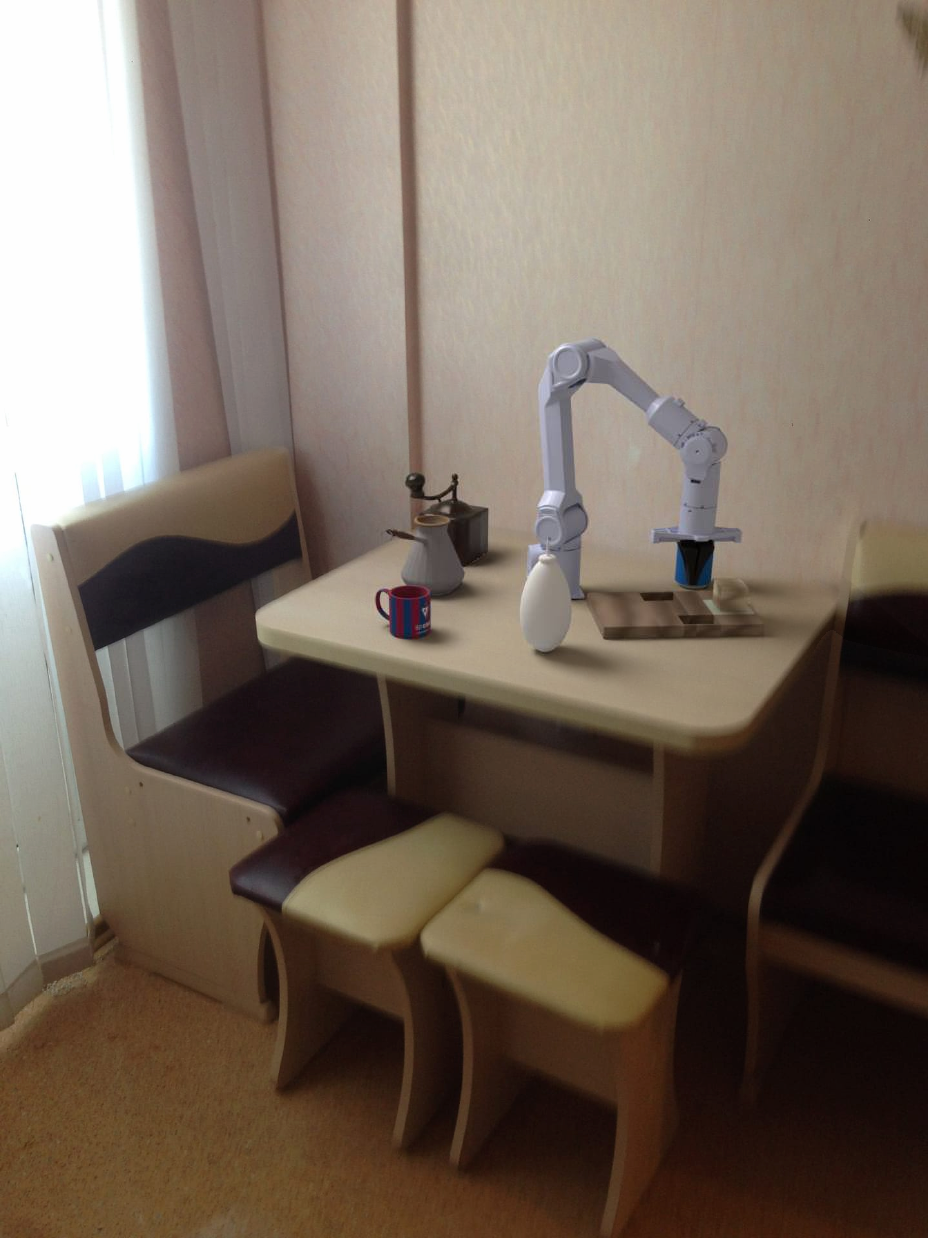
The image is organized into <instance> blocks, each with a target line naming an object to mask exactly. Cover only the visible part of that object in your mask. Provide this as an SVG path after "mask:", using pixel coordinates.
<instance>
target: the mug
mask: <svg viewBox="0 0 928 1238" xmlns="http://www.w3.org/2000/svg"><path fill="white" fill-rule="evenodd" d="M382 593H385V594H387V595H388V613H389V614H388V613H387V612H386V611H384V609H383V607H382V605H381V594H382ZM431 597H432V596H431V592H430V590H429V589H428V588H426V587H423V586H417V585H406V584H405V585H398V586H396V587H395V586H394V587H393V588H391V589H388V588H380V589H379V590H377V592H376V593H375V598H374V599H375V601H374V602H375V606H376V610H377V612H378V613H379V614H380V616H381V617H383V618H384V619H385V620H386V621H389V624H388V625H389V634H391V635H392V636H394V637H395V638H398V639H406V640H407V639H409V640H410V639H411V640H413V639H421V638H423V637H426V636H428V635H429V634H430V633H431V632H432V622H431V621H432V620H431V617H432V616H431V615H432V614H431V613H432V612H431V611H432V610H431V609H432V608H431V607H432V605H431V604H432V603H431Z"/></svg>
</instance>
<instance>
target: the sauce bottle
mask: <svg viewBox="0 0 928 1238" xmlns="http://www.w3.org/2000/svg"><path fill="white" fill-rule="evenodd" d="M519 605H520V606H519V619H520V620H519V621H520V627H521V631H522V634H523V636H524V638H525V640H526V641H527V643H528V644H529V645H531V646H532V647H533V649H535V650H538V651H539V652H542V653H547V652H548V653H549V652H551V651H553V650H555V649H556V648H557V647H559V646H560V645H561V644H562V643H563V642H564V639H565V638H566V636H567V634H568V631H569V629H570V625H571V622H572V614H573V612H572V610H573V609H572V599H571V595H570V590H569V586H568V583H567V580H566V577H565V575H564V573H563V571H562V569H561V567H560V566H559V565H558V563H557V562H556V557H555V556H554V555H551V554H549V539H548V540H547V547H546V554H543V555H541V556H540V557H539V562H538V563H537V564H536V565H535V566H534V568H533V569H532V571H531V573H530V575H529V577H528V579H527V581H526V580H525V584H524V586H523V591H522V594H521V598H520V603H519Z"/></svg>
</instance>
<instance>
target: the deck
mask: <svg viewBox="0 0 928 1238" xmlns="http://www.w3.org/2000/svg"><path fill="white" fill-rule="evenodd" d="M712 599H713V590H683V591H682V590H677V591H671V590H670V591H669V590H668V591H620V592H619V591H616V592H608V591H607V592H587V593H586V606H587V607H588V609H589V612H590V614H591V616H592V618H593V620H594V622H595V624H596V626H597V628H598V630H599V632H600V635H601V637H602V639H603V640H604V639H605V640H607V639H656V638H657V639H658V638H700V637H701V638H704V637H706V638H707V637H745V636H746V637H749V636H750V637H752V636H753V637H754V636H756V637H757V636H764V630H765V623H764V622H763V620H761V618H759V616H758V615H757V614H756V613H755V612H754V610H753V609H752V608H751V607H750V606H749V605H748V604H747V611H725V612H720V611H719V610H718V609H717V608H716V606H715V605H714V604H713V602H712Z"/></svg>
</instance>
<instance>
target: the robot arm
mask: <svg viewBox="0 0 928 1238" xmlns="http://www.w3.org/2000/svg"><path fill="white" fill-rule="evenodd" d="M546 359H547V361H546V362H547V366H546V368H545V370H544V373H543V374H542V377H541V380H540V383H539V385H538V388H537V389H538V390H537V394H538V395H537V396H538V410H539V426H540V427H539V428H540V438H541V439H540V443H541V456H542V457H541V458H542V472H543V473H542V474H543V488H544V490H543V491H544V492H543V495H542V496H541V498H540V501H539V502H538V504H537V517H536V520H535V521H534V525H533V533H534V536H535V538H536V541H537V542H538V543H535V544H529V545H528V546H527V551H526V552H527V555H526V556H527V557H526V576H525V582H526V581H527V579H528V577H529V575H530V573H531V571H532V569H533V568H534V566H535V565H536V564H537V563H538V562H539V557H540V556H541V555H543V554H546V547H547V540H548V539H549V554H551V555H554V556H555V557H556V562H557V563H558V565H559V566H560V567H561V569H562V571H563V573H564V575H565V577H566V580H567V583H568V586H569V590H570V595H571V600H572V599H573V600H575V599H580V600H581V599H585V594H584V592H583V590H582V588H581V586H580V583H581V579H580V578H581V558H582V535H583V534H585V532H586V531H587V529H588V527H589V515H588V513H587V511H586V509H585V507H584V502H583V500H584V499H583V496H582V494H581V493H580V492H579V491H578V489H577V488H576V485H577V484H576V470H575V452H574V435H573V434H574V433H573V432H574V431H573V416H572V397H573V395H575V393H577V392H578V390H579V389H580V388H581V387H582V386H583V385H584V384H585V383H589V384H602V385H605V384H606V385H609V386H611V388H613V389H615V390H616V391H617V392H618V393H620V394H621V395H622V396H623V397H625V398H626V399H628V400H629V401H630V402H631V403H632V404H634V405H635V406H637V407H638V408H639V409H641V410H642V411H643V412H644V413H645V414H646V418H647V419H646V420H647V424H648V425H647V426H650V427H651V429H653V430H654V431H655V432H656V433H657V434H659V435H660V436H661V437H662V438H664V439H665V440H666V441H667V442H668V443H669V444H670V445H672V447H674V448H675V449H676V450H678V451H679V457H680V459H681V462H682V463H683V465H684V471H683V477H682V478H683V479H682V488H681V489H682V490H681V501H680V509H679V511H680V512H679V520H678V521H679V522H678V523H679V524H678V525H676V526H669V527H661V528H651V529H650V530H651V531H650V542H651V543H652V544H659V543H676V544H677V545H678V547H679V550H680V553H681V556H682V559H683V562H684V567H685V573H686V582H687V583H688V585H697V584H698V580H699V577H700V575H701V572H702V570H703V568H704V566H705V564H706V562H707V561H708V559H709V558H710V556H711V555H712V554H713V552H715V548H716V546H715V544H714V545H713V542H715V543H716V542H718V543H719V542H723V543H725V542H733V543H736V544H737V543H738V544H739V543H742V535H743V531H742V529H740V528H739V527H722V526H716V522H717V521H716V520H717V511H718V510H717V509H718V500H719V491H720V490H719V489H720V482H721V467H722V461H720V460H721V459H722V458H723V457H724V456H726V454H727V451H728V448H729V446H728V444H729V443H728V438H727V437H726V435H725V434H724V432H723V431H722V430H721V429H720V427H718V426H716V425H708V421H706V420H705V419H699V418H698V417H697V415H695V414H694V413H693V412H691V411H690V410H689V408H686V407H685V404H686V402H685V401H684V399H682V398H680V397H679V398H674V396H661V395H659V394H658V393H657V391H655V390H654V389H653V388H652V387H651V386H650V385H649V384H648V383H647V382H646V381H644V380H643V378H642V377H640V375H639V374H637V373H636V372H635V371H634V370H633V369H632V368H631V367H630V366H629V365H628V364H627V363H625V361H623V360H622V359H621V357H620V356H619V355H618V353H617V352H616V351H615V349H613V348H611V347H609V346H607V345H606V344H605V342H603V341H602V340H601V339H599V338H596V337H587V338H584V339H582V340H579V341H575V342H565V343H563V344H561V345H559V346H558V347H557V348H555V350H553V351H552V352H551V354H549V355H548V356H547V358H546ZM713 555H714V554H713Z"/></svg>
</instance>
